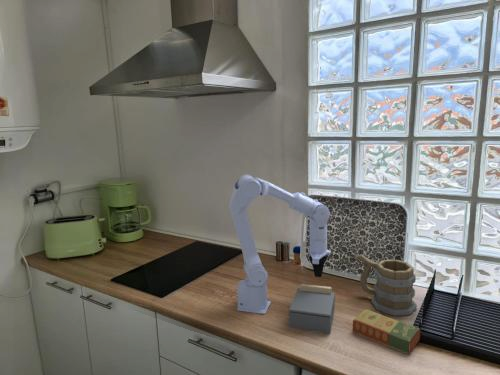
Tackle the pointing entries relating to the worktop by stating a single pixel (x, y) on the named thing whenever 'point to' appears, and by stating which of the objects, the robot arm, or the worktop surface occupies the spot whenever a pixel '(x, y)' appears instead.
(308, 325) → the box
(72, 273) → the worktop surface
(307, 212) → the robot arm
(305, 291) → the lid
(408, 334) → the carton
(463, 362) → the worktop surface
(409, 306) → the tankard
